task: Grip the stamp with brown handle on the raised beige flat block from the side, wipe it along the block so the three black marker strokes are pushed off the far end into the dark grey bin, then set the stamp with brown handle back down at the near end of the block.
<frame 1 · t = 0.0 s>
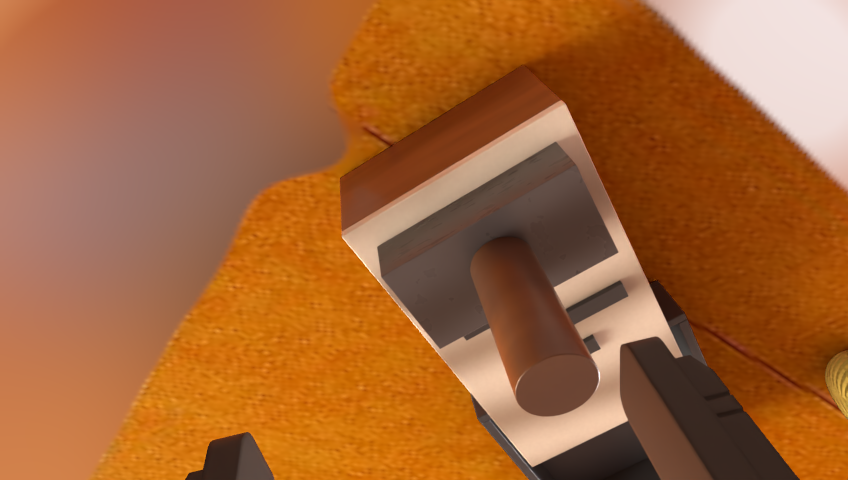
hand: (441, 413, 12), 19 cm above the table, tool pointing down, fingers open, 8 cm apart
marker stroke 1: (491, 314, 29), point 6 cm above the table, touching beige flat block
marker stroke 2: (591, 303, 29), point 6 cm above the table, touching beige flat block
marker stroke 3: (565, 355, 31), point 6 cm above the table, touching beige flat block
bin: (603, 402, 43), on the table
beige flat block: (513, 259, 35), on the table
stamp with brown handle: (489, 235, 26), point 6 cm above the table, touching beige flat block
sculpture: (836, 361, 44), on the table
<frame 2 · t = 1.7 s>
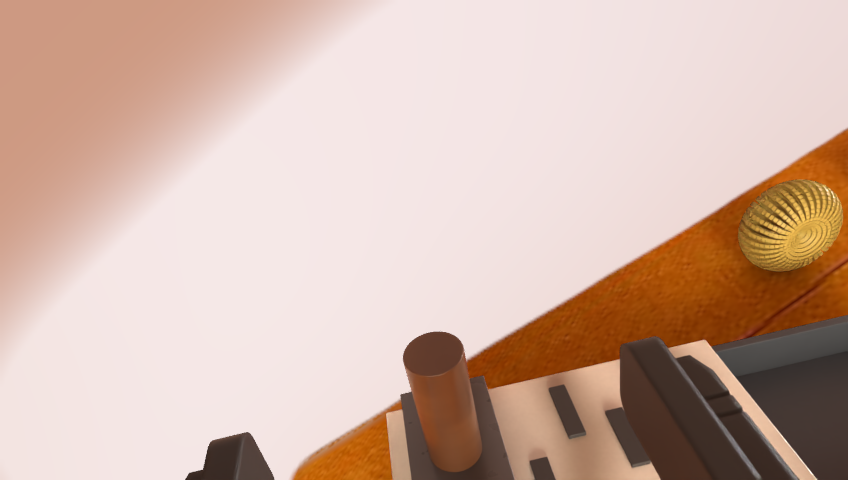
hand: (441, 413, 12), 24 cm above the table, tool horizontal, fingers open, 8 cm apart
marker stroke 2: (566, 412, 34), point 6 cm above the table, touching beige flat block
marker stroke 3: (626, 437, 32), point 6 cm above the table, touching beige flat block
bin: (832, 452, 35), on the table
stamp with brown handle: (462, 476, 31), point 6 cm above the table, touching beige flat block
sculpture: (780, 267, 49), on the table
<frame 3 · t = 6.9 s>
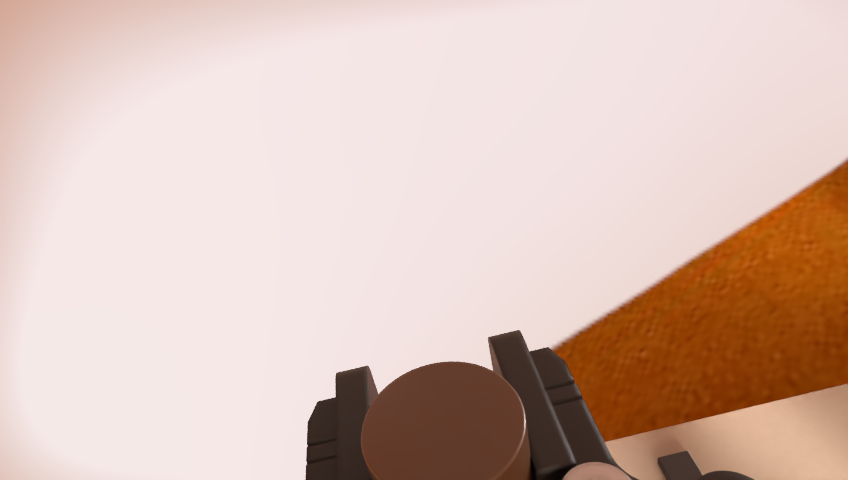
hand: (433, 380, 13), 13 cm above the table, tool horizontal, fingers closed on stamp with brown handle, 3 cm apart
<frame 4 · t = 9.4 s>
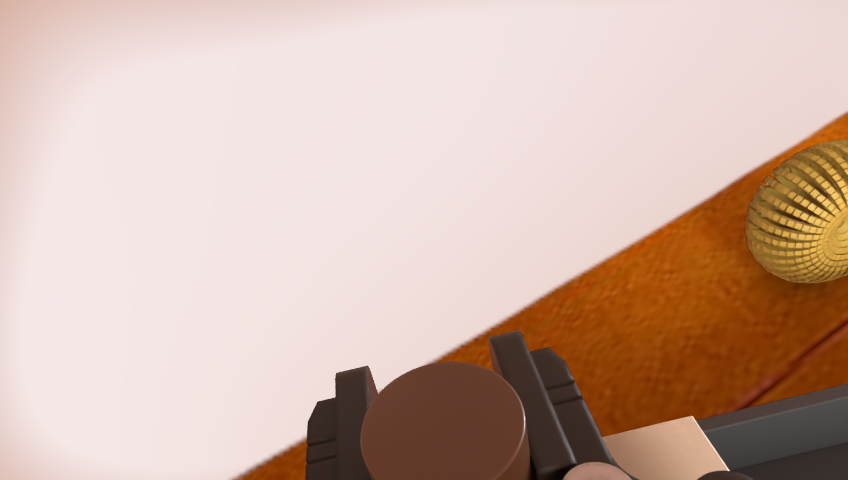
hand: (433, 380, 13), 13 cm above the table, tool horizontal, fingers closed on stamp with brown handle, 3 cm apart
sculpture: (809, 276, 33), on the table
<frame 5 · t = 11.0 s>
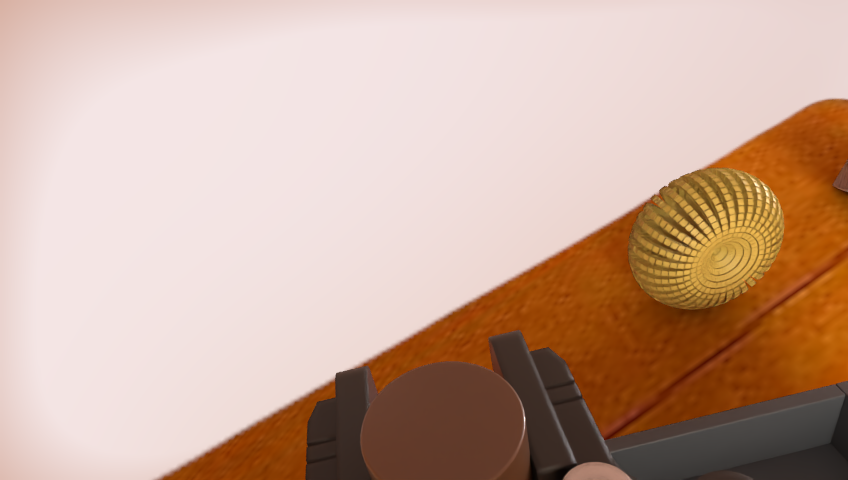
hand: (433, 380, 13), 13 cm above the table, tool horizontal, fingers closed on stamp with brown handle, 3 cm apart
sculpture: (697, 301, 33), on the table
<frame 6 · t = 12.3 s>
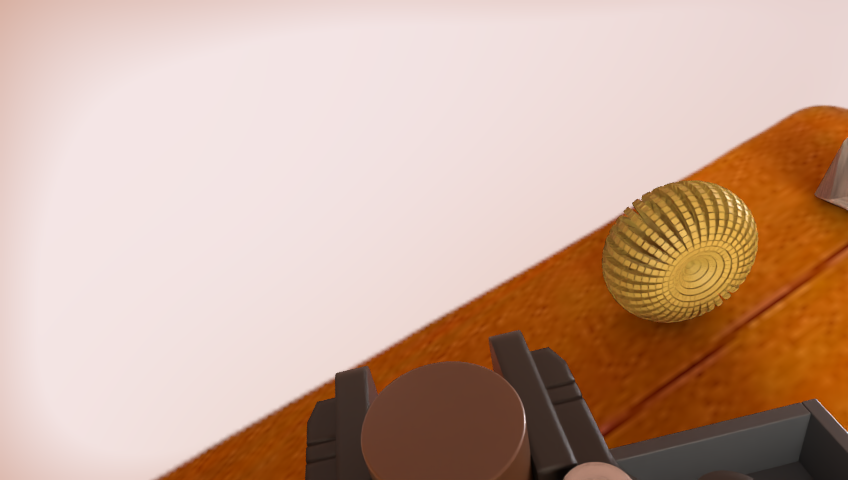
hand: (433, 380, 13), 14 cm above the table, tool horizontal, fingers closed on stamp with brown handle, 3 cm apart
sculpture: (674, 314, 33), on the table
when the fingers open (13 cm above the table, at t = 17.7 s): stamp with brown handle stays where it is, resting on beige flat block.
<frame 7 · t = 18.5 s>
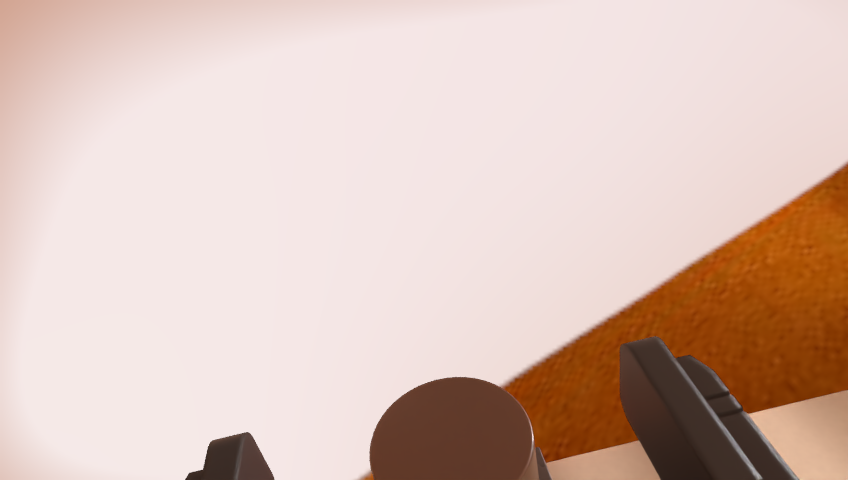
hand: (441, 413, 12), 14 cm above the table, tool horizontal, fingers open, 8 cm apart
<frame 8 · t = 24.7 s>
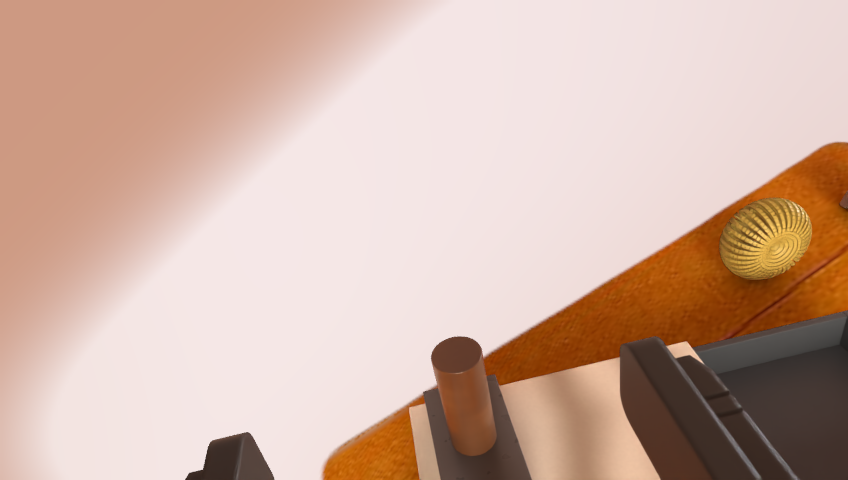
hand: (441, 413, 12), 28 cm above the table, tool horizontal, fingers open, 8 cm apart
bin: (797, 438, 40), on the table
stamp with brown handle: (478, 460, 37), point 6 cm above the table, touching beige flat block
sculpture: (758, 276, 55), on the table
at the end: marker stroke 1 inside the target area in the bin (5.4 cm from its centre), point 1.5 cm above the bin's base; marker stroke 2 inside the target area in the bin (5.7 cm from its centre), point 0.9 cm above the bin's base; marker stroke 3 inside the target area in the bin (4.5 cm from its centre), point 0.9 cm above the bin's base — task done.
